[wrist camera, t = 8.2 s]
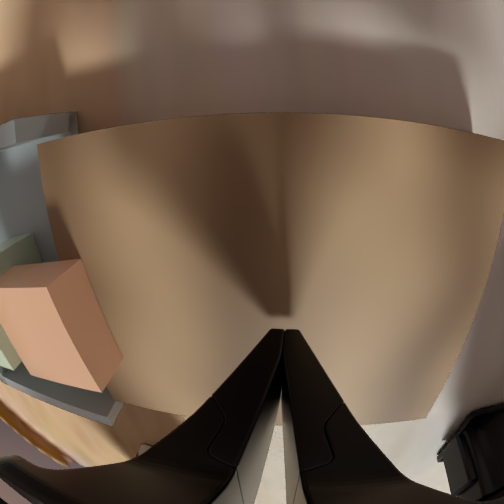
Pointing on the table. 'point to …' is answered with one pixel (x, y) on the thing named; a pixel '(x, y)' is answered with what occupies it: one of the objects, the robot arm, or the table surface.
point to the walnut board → (280, 248)
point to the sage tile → (4, 258)
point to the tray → (40, 246)
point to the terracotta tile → (58, 324)
